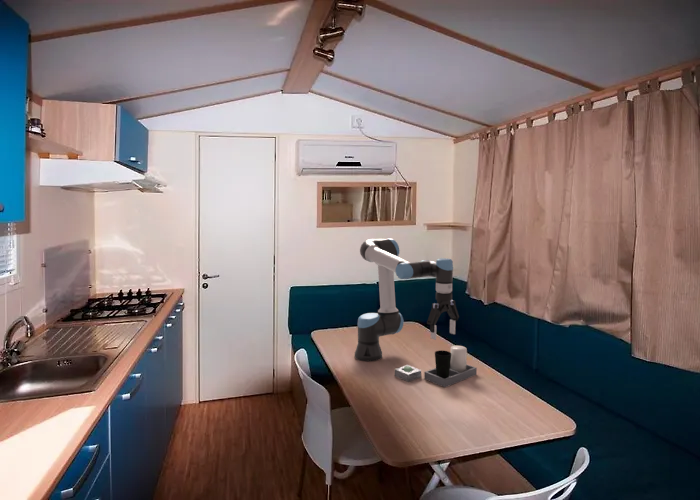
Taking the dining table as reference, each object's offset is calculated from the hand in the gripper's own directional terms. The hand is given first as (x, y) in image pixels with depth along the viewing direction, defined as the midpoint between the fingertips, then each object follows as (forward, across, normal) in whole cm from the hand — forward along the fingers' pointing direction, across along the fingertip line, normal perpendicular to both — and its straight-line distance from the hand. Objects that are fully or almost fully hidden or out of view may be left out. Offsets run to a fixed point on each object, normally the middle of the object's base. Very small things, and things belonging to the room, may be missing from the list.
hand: (443, 336), depth 195 cm
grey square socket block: (+21, -11, +12) cm, 27 cm away
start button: (+20, -11, +12) cm, 26 cm away
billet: (+20, +11, -1) cm, 23 cm away
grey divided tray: (+21, +5, -1) cm, 22 cm away
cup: (+20, -1, -1) cm, 20 cm away
